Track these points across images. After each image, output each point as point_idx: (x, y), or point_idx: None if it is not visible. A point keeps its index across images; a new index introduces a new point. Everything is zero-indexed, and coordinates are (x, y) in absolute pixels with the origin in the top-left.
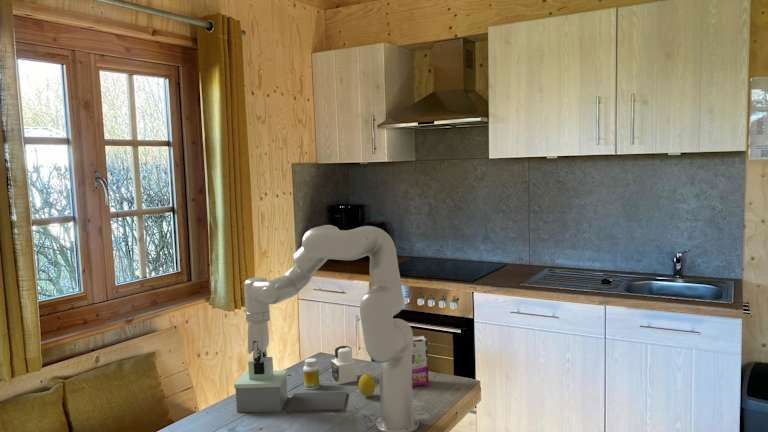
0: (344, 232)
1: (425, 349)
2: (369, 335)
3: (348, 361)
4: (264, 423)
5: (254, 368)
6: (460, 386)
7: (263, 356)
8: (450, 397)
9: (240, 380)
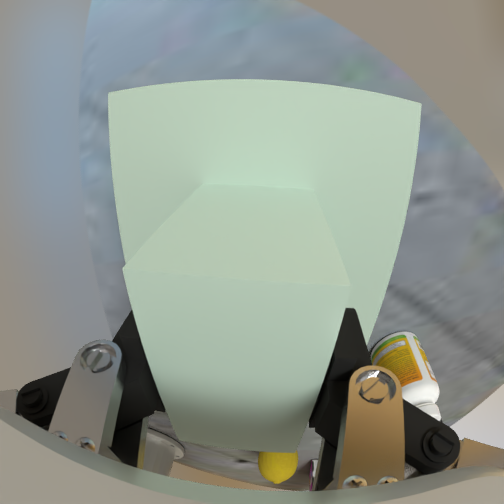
0: None
1: None
2: None
3: None
4: (100, 239)
5: None
6: (294, 486)
7: (316, 417)
8: (256, 481)
9: (187, 111)
